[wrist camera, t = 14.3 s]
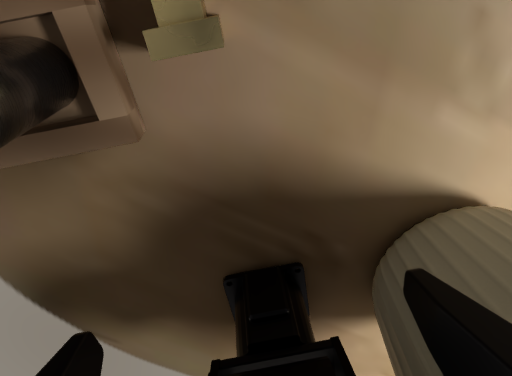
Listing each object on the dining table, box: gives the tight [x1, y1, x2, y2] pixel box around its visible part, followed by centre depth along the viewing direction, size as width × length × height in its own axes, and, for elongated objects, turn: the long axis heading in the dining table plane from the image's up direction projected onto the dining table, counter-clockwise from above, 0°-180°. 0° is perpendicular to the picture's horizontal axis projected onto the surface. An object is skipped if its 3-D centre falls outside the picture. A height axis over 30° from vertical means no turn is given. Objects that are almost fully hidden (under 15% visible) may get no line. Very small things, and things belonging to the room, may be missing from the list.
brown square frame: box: [0, 0, 146, 169], centre depth 16 cm, size 8×8×2 cm
